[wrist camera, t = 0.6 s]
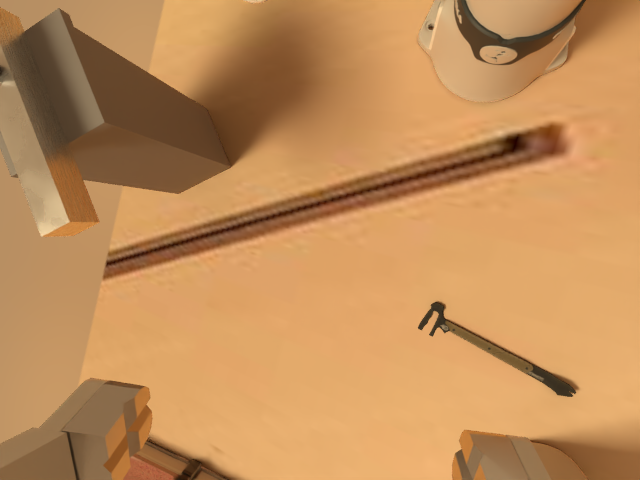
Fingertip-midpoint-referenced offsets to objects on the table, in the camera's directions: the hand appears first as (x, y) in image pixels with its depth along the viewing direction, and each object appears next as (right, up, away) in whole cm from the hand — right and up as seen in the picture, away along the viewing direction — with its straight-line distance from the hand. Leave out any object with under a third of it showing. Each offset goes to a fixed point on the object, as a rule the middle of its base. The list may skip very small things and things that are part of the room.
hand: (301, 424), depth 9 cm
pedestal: (-20, +19, +49) cm, 56 cm away
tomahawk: (+24, -11, +41) cm, 49 cm away
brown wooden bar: (-24, +15, +23) cm, 36 cm away
